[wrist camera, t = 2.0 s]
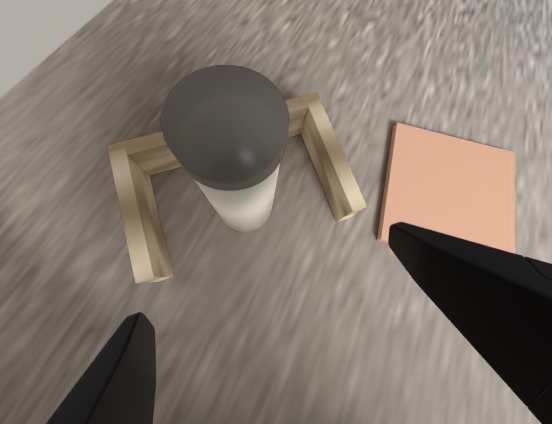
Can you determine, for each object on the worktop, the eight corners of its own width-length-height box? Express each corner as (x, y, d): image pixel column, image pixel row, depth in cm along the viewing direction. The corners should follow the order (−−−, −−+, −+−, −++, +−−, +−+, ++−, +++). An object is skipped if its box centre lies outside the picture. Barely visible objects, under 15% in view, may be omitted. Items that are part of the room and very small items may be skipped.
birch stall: (348, 217, 23) (366, 206, 19) (159, 281, 20) (135, 283, 16) (308, 120, 25) (316, 92, 21) (133, 167, 22) (107, 145, 19)
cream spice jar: (283, 199, 23) (313, 106, 10) (251, 244, 21) (239, 202, 9) (239, 170, 23) (215, 45, 10) (206, 212, 22) (132, 128, 9)
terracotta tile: (505, 273, 22) (514, 273, 21) (376, 240, 22) (381, 238, 21) (506, 156, 25) (514, 152, 24) (393, 127, 25) (397, 122, 24)
